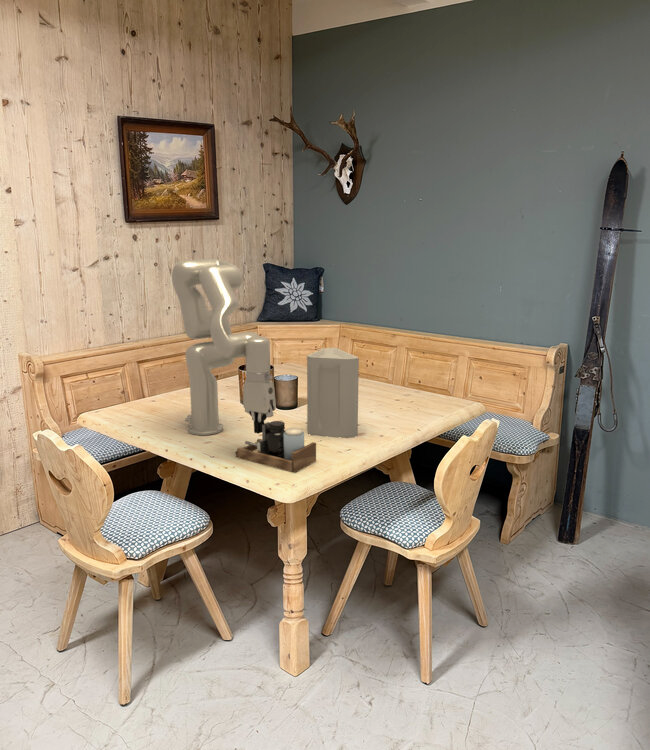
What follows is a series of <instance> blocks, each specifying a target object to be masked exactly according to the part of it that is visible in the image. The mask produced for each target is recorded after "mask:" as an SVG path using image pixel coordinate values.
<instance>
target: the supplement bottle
mask: <svg viewBox="0 0 650 750" xmlns="http://www.w3.org/2000/svg"><path fill="white" fill-rule="evenodd" d="M269 429H270V430H269V431H268V432H267V434H266V447H267V455H271V456H275V457H279V458H283V459H284V432H285V430H286V426H285V422H284V421H281V420H274V421H273V420H272V421H271V422H270V423H269Z"/></svg>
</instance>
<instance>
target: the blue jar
mask: <svg viewBox="0 0 650 750" xmlns="http://www.w3.org/2000/svg"><path fill="white" fill-rule="evenodd" d="M284 430H285V432H284V459H287V460H291V461H292V453H293V452H295V451H297V450H299V449H301V448H303V447H305V432H304V431H303V429H302V428H300V427H295V426H294V427H288V428H285V429H284Z"/></svg>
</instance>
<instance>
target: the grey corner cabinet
mask: <svg viewBox="0 0 650 750" xmlns="http://www.w3.org/2000/svg"><path fill="white" fill-rule="evenodd" d="M359 360H360V358H359V357H358V356H356V355H353V354H351V353H349V352H346V351H344V350H342V349H339V348H337V347H326V348H325V347H324V348H322V349H319V350H316V351H314V352H312V353H309V354H307V356H306V367H307V368H306V383H307V384H306V389H307V390H306V394H307V395H306V396H307V397H306V401H307V403H306V404H307V405H306V406H307V408H306V409H307V410H306V411H307V412H306V413H307V414H306V417H307V418H306V419H307V422H306V424H307V426H306V429H307V434H308V435H309V434H310V435H309V436H313V435H318V436H317V437H326V436H328V437H329V438H339V437H341V438H342V439H350V437H351V438H356V437H355V436H357V437H358V435H359V434H358V429H359V427H358V426H359V379H360V377H359V374H360V372H359V370H360V368H359V367H360V361H359ZM341 438H340V439H341Z"/></svg>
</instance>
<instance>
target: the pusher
mask: <svg viewBox="0 0 650 750" xmlns="http://www.w3.org/2000/svg"><path fill="white" fill-rule="evenodd" d="M269 423H270V422H269V421H267V422H264V424H262V436H261V437H262V438H261V439H262V440H260V441H258V442H257V441H256V442H257V443H255V442H253V441H252V442H251V441H248V440H244V444H245V445H247V446H248V445H252V446H256V447H257V450H256V452H259V453H263V454H267V447H266V434H267V432H268V431H269V430H270V429H269Z"/></svg>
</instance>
